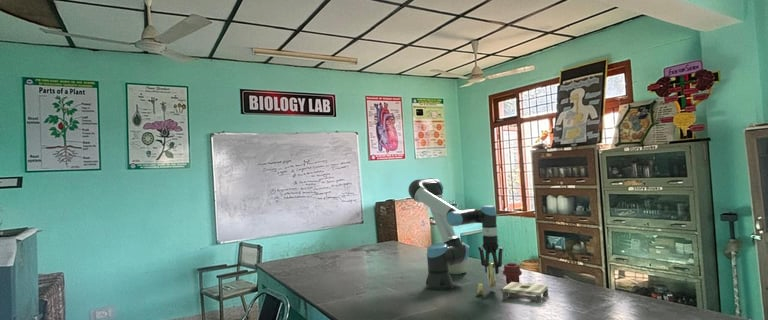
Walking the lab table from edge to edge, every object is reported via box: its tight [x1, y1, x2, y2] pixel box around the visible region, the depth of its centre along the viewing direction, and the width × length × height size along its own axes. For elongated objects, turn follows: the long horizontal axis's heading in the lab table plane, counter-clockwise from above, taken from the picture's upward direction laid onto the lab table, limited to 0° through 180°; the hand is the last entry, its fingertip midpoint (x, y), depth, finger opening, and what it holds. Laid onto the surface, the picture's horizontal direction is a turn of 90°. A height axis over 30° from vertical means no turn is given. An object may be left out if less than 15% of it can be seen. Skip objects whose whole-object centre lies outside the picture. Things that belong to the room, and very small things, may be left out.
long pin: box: [488, 262, 497, 288], centre depth 225 cm, size 3×3×12 cm
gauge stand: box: [501, 282, 549, 304], centre depth 211 cm, size 18×14×5 cm
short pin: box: [476, 283, 484, 296], centre depth 220 cm, size 3×3×5 cm
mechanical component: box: [502, 262, 523, 286], centre depth 232 cm, size 12×10×10 cm
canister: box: [449, 243, 470, 275], centre depth 270 cm, size 18×18×21 cm
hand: (492, 279), depth 225 cm, fingers closed on long pin, 3 cm apart
